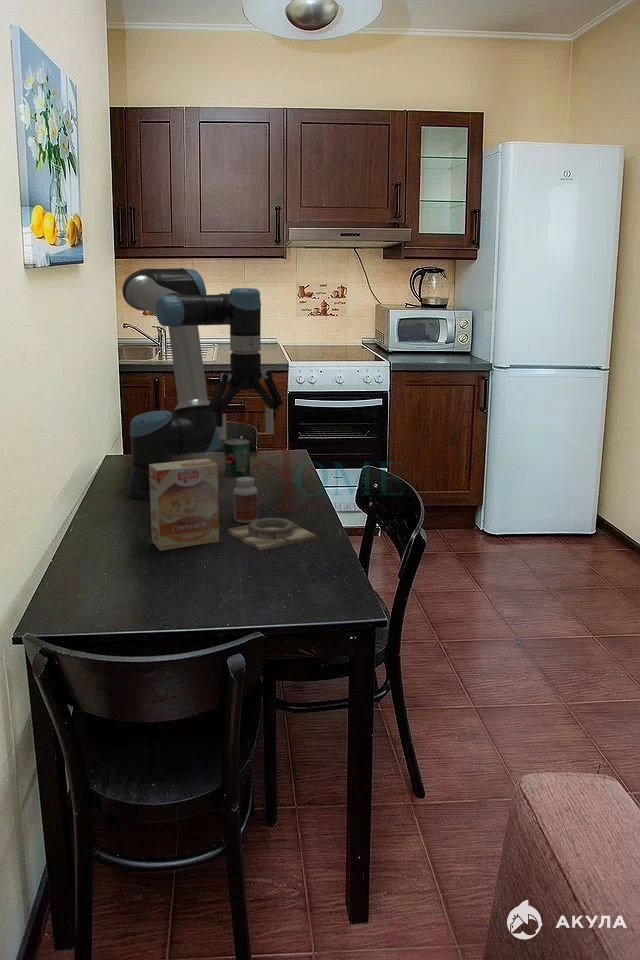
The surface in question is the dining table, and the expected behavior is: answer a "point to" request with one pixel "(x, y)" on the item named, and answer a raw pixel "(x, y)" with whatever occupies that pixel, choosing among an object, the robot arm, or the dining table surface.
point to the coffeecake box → (184, 503)
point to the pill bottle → (245, 500)
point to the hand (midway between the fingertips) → (246, 436)
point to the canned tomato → (237, 458)
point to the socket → (271, 533)
